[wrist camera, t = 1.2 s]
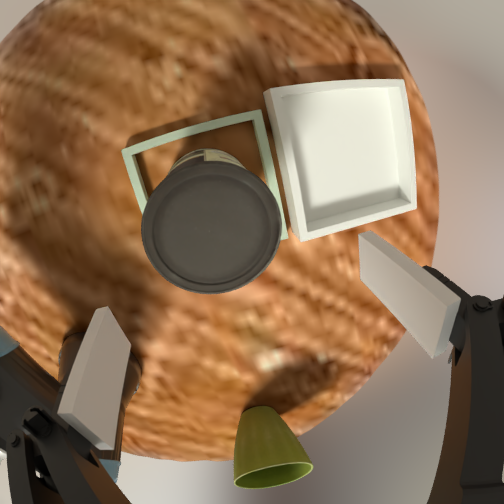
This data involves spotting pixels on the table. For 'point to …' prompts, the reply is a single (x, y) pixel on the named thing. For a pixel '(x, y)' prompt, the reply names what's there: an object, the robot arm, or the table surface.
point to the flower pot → (267, 451)
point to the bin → (343, 152)
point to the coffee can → (211, 224)
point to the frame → (213, 124)
